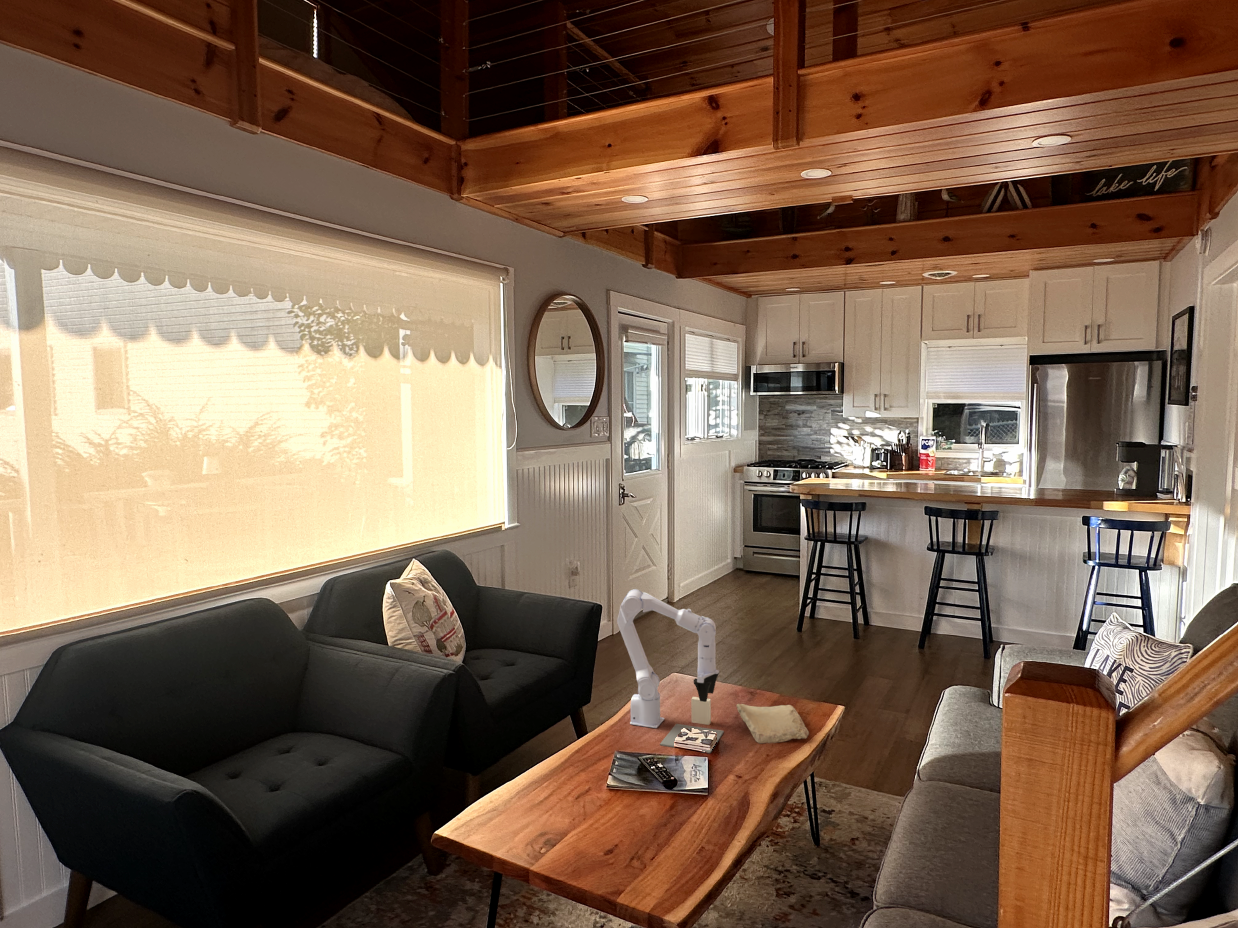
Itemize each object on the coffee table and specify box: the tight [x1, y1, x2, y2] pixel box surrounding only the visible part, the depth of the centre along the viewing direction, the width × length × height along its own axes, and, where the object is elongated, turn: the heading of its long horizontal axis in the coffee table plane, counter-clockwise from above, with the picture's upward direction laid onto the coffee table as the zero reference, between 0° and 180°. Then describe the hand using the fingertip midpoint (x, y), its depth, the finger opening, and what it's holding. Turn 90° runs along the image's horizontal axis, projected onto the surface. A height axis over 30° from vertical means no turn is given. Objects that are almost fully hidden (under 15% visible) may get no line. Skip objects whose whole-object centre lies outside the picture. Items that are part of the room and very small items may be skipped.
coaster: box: [690, 696, 712, 726], centre depth 258 cm, size 6×2×8 cm, turn 68°
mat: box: [659, 723, 725, 754], centre depth 246 cm, size 16×16×1 cm
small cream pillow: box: [735, 703, 810, 744], centre depth 254 cm, size 24×8×20 cm
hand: (706, 696), depth 256 cm, fingers open, 7 cm apart
